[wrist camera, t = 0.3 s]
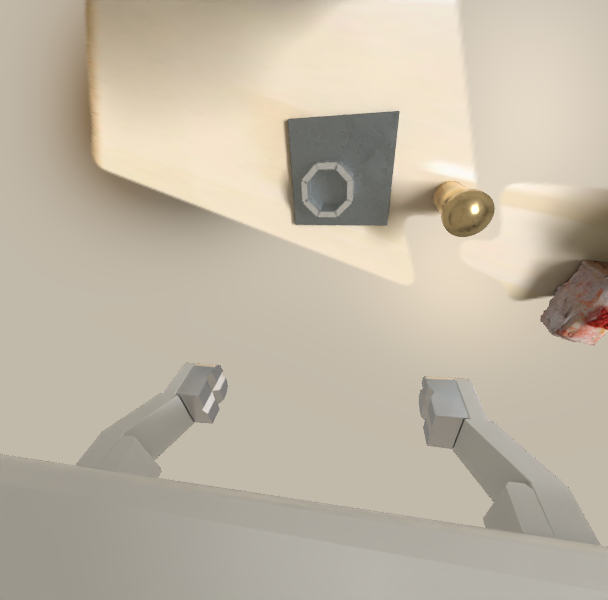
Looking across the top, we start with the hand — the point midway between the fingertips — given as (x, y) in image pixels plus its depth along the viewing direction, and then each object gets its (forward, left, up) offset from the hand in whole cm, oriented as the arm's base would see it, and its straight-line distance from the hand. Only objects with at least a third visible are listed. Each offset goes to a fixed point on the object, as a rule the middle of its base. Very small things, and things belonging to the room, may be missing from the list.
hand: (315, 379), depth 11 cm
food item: (+21, +42, -48) cm, 67 cm away
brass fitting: (+3, +16, -47) cm, 50 cm away
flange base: (-1, -3, -47) cm, 47 cm away
